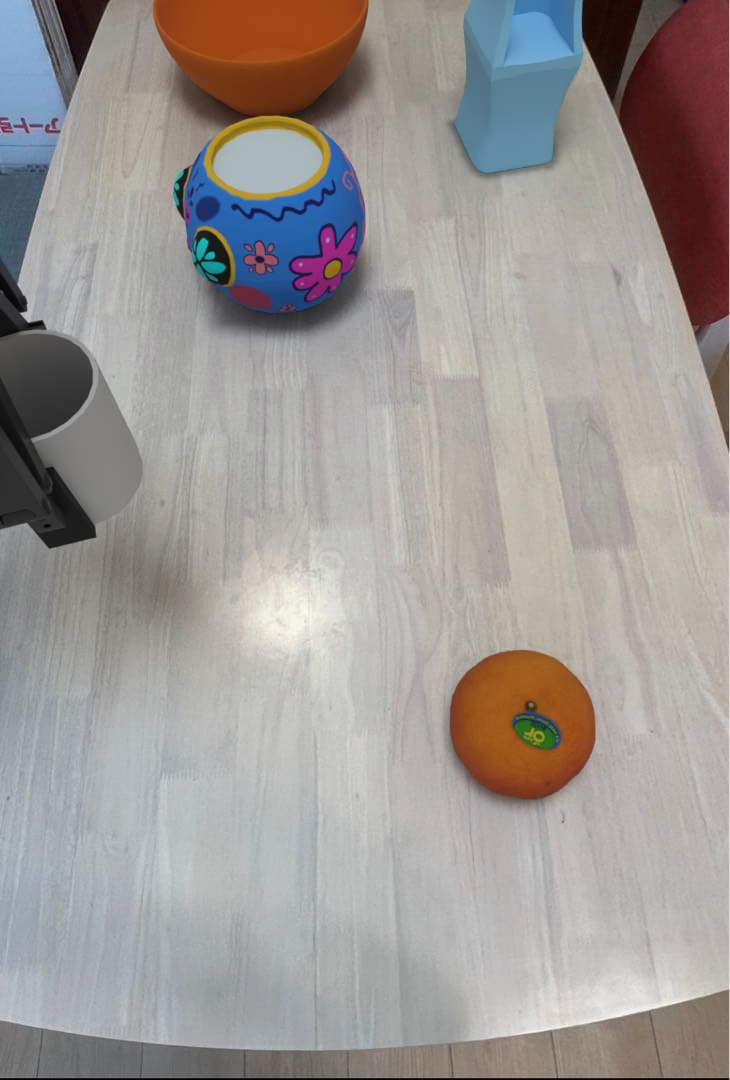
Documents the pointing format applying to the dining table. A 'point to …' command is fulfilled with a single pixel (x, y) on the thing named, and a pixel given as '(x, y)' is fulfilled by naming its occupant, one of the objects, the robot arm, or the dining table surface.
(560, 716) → the fruit
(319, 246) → the ceramic pot
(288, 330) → the dining table surface
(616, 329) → the dining table surface
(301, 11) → the bowl
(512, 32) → the vase
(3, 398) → the robot arm
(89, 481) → the cup
